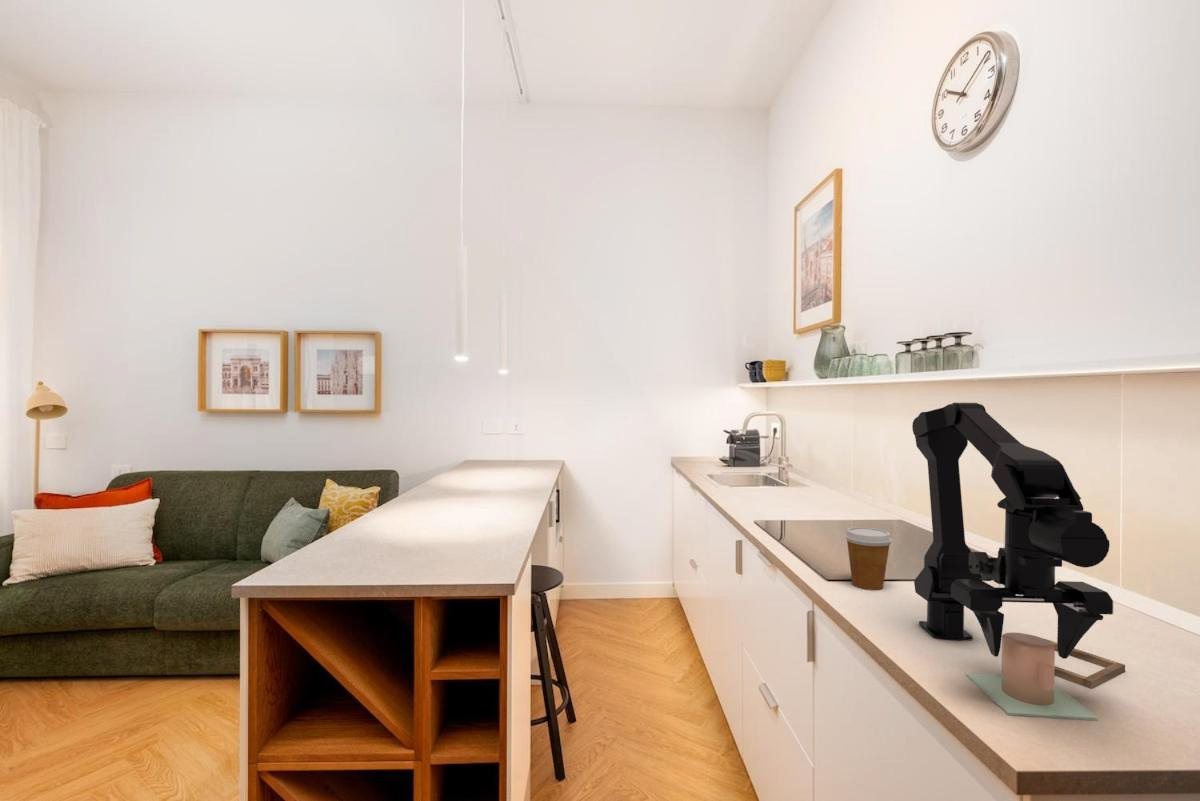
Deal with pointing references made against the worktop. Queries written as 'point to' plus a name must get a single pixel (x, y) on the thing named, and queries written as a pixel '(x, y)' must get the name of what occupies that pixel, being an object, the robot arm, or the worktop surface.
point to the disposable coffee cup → (868, 556)
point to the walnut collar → (1094, 679)
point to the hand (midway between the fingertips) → (1028, 656)
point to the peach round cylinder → (1028, 668)
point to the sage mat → (1011, 706)
